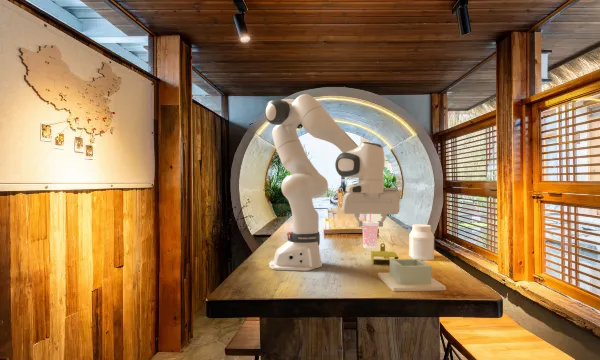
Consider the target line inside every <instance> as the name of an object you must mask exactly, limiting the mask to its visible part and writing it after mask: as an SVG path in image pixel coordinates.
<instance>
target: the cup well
mask: <svg viewBox="0 0 600 360" xmlns="http://www.w3.org/2000/svg"><path fill="white" fill-rule="evenodd" d="M377 277H378V278H379V279H380V280H381V281H382V282H383V284H385V285H386V286H387V287H388V288H389V289H390V290H391V291H392V292H424V291H425V292H427V291H428V292H429V291H446V290H447V286H445V285H444V284H443V283H441V282H439V281H438V280H436V279H435V278H434V277H432V266H431V265H430V264H428V263H426V262H425V261H424V260H420V259H413V258H398V259H394V258H392V259H391V258H390V259H389V272H377Z"/></svg>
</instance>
